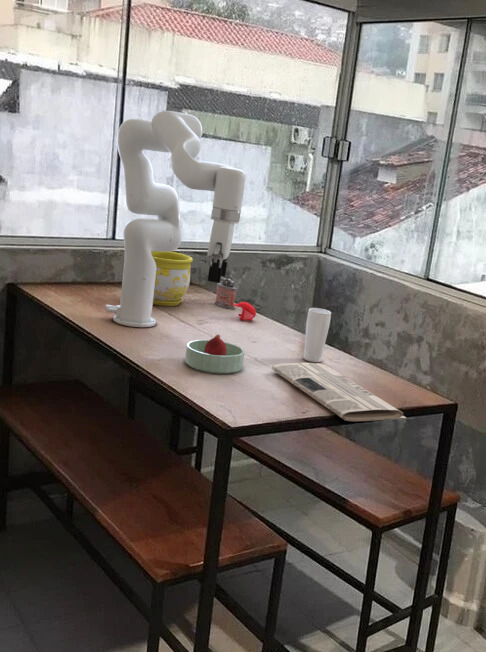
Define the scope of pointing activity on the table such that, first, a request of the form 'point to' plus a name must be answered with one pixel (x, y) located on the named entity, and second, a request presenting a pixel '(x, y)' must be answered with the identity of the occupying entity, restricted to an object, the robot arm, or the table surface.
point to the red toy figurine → (246, 311)
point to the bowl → (214, 358)
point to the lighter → (225, 293)
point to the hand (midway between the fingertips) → (216, 278)
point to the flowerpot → (171, 277)
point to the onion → (216, 346)
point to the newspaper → (337, 392)
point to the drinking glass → (316, 333)
